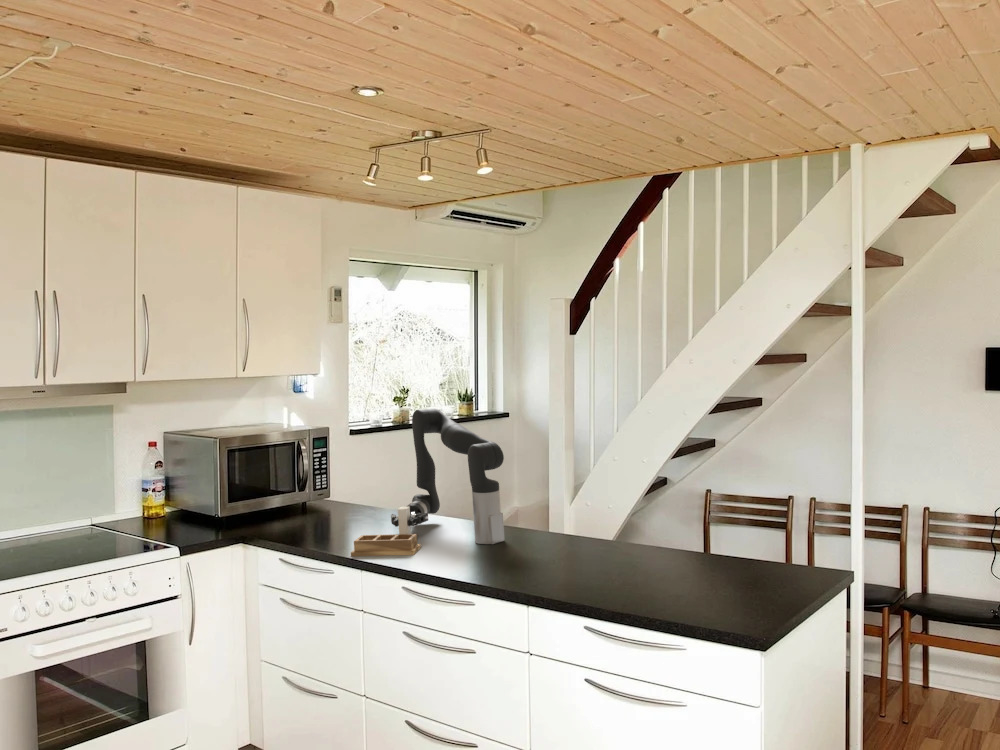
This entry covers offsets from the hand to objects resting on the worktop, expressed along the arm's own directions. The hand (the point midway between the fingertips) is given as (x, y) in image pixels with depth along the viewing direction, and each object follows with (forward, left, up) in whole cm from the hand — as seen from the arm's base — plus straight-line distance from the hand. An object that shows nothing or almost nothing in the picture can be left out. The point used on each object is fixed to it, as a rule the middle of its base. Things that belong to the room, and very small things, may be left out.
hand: (402, 523), depth 292 cm
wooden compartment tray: (-2, +10, -7) cm, 12 cm away
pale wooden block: (+2, -2, -7) cm, 8 cm away
